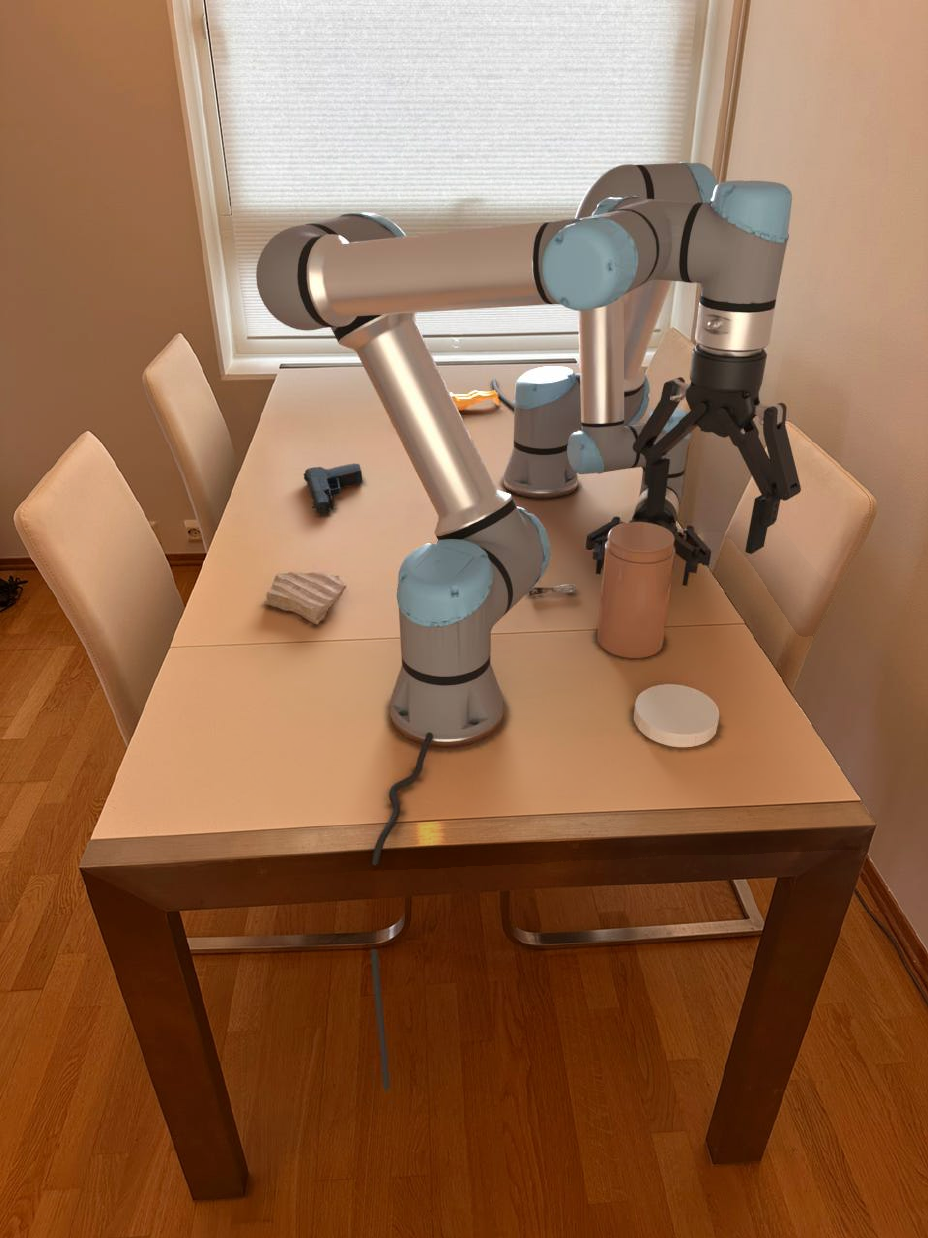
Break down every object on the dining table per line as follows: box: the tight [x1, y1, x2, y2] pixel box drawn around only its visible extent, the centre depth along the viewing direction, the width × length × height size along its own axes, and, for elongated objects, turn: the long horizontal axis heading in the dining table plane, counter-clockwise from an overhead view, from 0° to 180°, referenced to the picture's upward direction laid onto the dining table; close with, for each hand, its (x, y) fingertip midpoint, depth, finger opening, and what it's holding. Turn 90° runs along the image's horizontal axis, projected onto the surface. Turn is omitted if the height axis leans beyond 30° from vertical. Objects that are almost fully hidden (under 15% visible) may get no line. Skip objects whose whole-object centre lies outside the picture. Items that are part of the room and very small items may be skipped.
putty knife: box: [528, 583, 577, 596], centre depth 147 cm, size 1×8×2 cm, turn 103°
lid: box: [633, 683, 720, 748], centre depth 119 cm, size 11×11×2 cm
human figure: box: [450, 389, 500, 411], centre depth 225 cm, size 20×20×4 cm
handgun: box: [303, 463, 363, 515], centre depth 181 cm, size 3×18×12 cm
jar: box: [596, 521, 676, 659], centre depth 131 cm, size 10×10×18 cm
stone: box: [265, 571, 347, 625], centre depth 145 cm, size 13×12×2 cm
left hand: (702, 530), depth 104 cm, fingers open, 13 cm apart
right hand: (641, 572), depth 140 cm, fingers open, 13 cm apart
